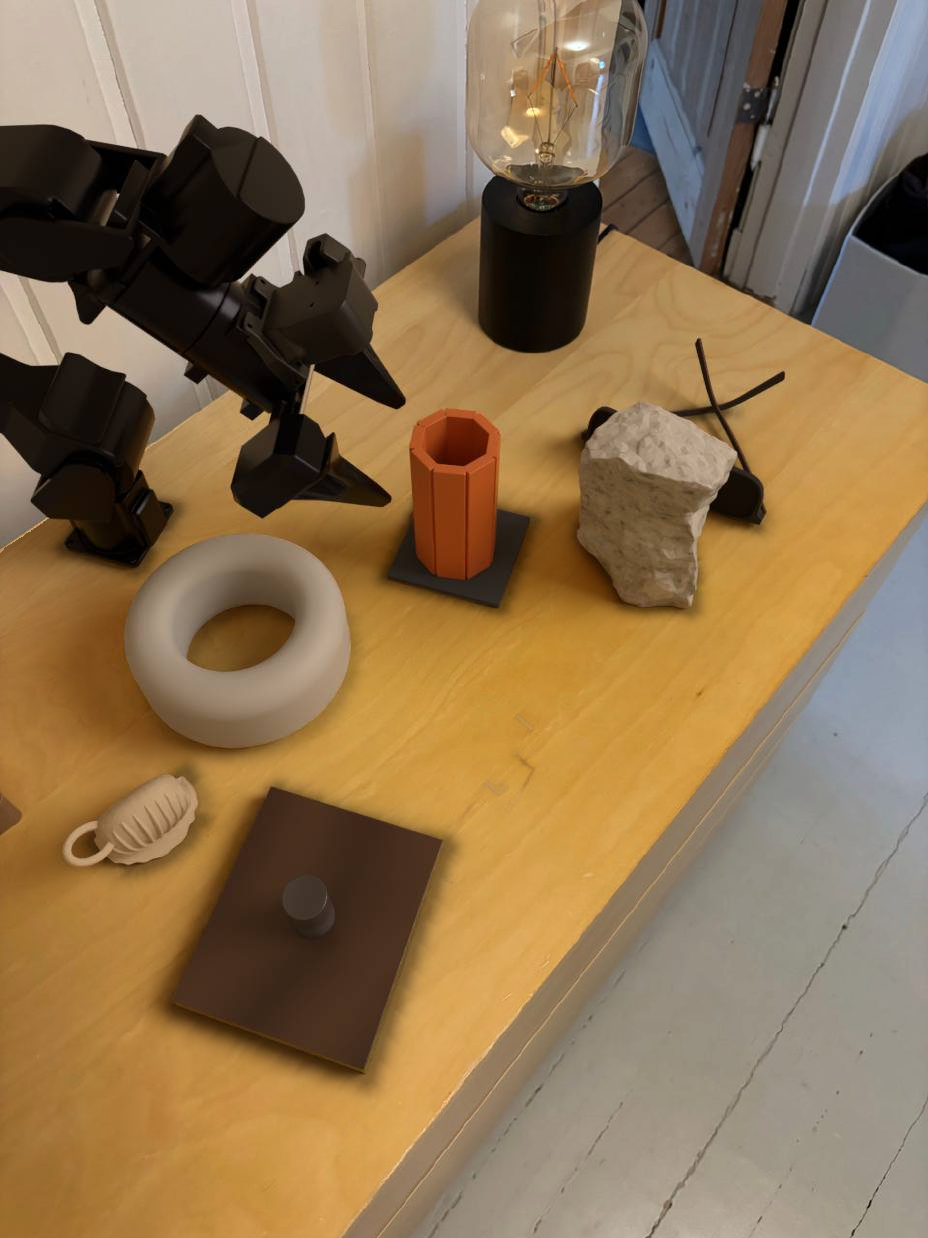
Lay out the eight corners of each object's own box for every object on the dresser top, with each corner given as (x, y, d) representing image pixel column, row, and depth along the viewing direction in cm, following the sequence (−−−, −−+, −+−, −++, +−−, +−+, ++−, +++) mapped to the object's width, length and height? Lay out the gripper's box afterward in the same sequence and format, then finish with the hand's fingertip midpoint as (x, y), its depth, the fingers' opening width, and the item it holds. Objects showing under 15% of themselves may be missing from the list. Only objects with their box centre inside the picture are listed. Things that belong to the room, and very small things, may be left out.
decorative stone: (717, 537, 75) (766, 402, 63) (683, 625, 70) (730, 497, 58) (596, 497, 77) (621, 358, 65) (556, 580, 73) (575, 447, 60)
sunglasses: (824, 431, 81) (844, 388, 77) (751, 538, 75) (768, 497, 71) (654, 355, 86) (664, 310, 82) (572, 449, 80) (578, 405, 76)
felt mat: (387, 578, 73) (386, 575, 72) (425, 494, 77) (425, 490, 77) (498, 608, 71) (498, 605, 71) (530, 520, 76) (530, 516, 75)
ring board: (177, 1006, 56) (151, 985, 51) (274, 794, 63) (259, 760, 58) (366, 1074, 54) (357, 1059, 49) (444, 847, 61) (442, 816, 56)
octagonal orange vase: (448, 592, 71) (446, 487, 61) (402, 542, 74) (393, 434, 64) (509, 553, 73) (517, 446, 63) (463, 506, 76) (463, 396, 66)
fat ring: (321, 555, 74) (309, 500, 68) (378, 714, 66) (371, 667, 60) (129, 610, 71) (101, 557, 65) (166, 783, 63) (138, 741, 58)
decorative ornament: (216, 819, 62) (197, 787, 57) (101, 899, 59) (72, 872, 54) (184, 775, 64) (164, 740, 59) (71, 851, 61) (41, 821, 56)
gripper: (248, 350, 46) (468, 507, 55) (309, 140, 57) (486, 301, 65) (137, 451, 53) (348, 576, 62) (209, 248, 63) (382, 380, 72)
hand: (395, 451), depth 65 cm, fingers open, 9 cm apart
